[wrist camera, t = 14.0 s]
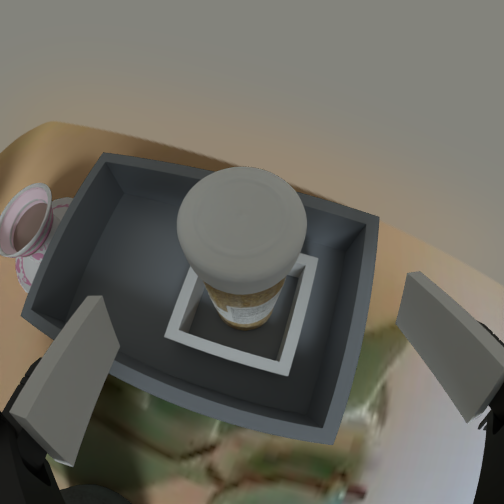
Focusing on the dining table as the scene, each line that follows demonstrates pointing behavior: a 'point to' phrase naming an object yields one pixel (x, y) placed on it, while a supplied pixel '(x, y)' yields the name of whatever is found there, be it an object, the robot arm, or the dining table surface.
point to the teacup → (30, 228)
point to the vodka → (91, 495)
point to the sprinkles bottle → (242, 240)
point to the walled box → (210, 303)
